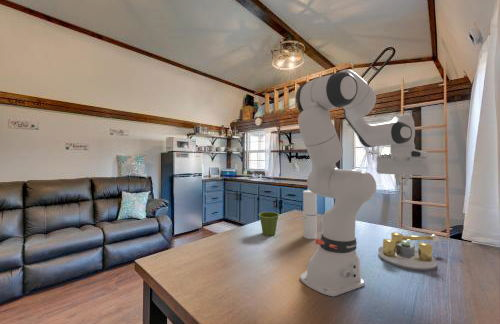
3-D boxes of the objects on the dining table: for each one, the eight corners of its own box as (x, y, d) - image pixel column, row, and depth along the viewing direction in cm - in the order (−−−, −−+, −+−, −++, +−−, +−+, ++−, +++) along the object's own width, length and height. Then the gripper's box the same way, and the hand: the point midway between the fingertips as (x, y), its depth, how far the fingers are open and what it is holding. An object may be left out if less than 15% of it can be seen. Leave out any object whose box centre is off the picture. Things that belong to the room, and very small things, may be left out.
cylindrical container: (313, 240, 118) (313, 192, 117) (301, 237, 122) (301, 191, 122) (318, 236, 123) (318, 191, 123) (306, 233, 128) (306, 190, 127)
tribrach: (426, 276, 81) (426, 254, 81) (369, 257, 97) (369, 238, 97) (442, 261, 93) (442, 241, 93) (389, 246, 109) (389, 229, 109)
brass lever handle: (395, 249, 100) (395, 235, 100) (389, 245, 104) (389, 232, 104) (441, 249, 99) (441, 235, 99) (433, 245, 103) (433, 232, 103)
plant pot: (255, 232, 130) (254, 213, 130) (272, 229, 135) (272, 211, 135) (264, 239, 119) (264, 218, 119) (283, 235, 124) (283, 215, 124)
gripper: (373, 153, 103) (373, 183, 104) (428, 152, 87) (428, 188, 87) (380, 153, 107) (380, 182, 107) (433, 152, 91) (433, 186, 91)
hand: (402, 185), depth 97 cm, fingers closed
